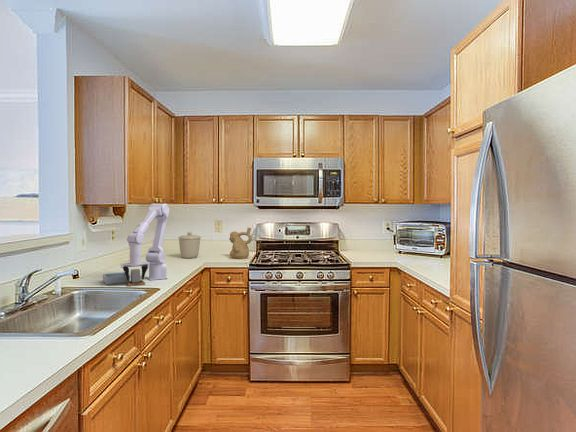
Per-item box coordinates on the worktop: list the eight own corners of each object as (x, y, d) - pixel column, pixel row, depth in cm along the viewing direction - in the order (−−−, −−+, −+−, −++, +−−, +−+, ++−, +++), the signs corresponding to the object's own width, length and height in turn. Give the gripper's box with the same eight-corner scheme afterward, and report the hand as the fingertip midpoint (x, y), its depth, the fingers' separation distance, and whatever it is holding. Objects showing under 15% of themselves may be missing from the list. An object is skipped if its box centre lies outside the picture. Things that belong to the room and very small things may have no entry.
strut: (138, 283, 209) (138, 268, 208) (140, 284, 205) (140, 270, 205) (130, 284, 207) (130, 269, 206) (132, 285, 203) (132, 270, 203)
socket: (141, 282, 212) (141, 279, 212) (145, 284, 205) (145, 282, 205) (125, 283, 207) (125, 281, 207) (128, 286, 200) (128, 284, 200)
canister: (196, 255, 318) (196, 230, 317) (204, 258, 303) (204, 232, 302) (175, 256, 308) (175, 231, 308) (181, 259, 293) (181, 232, 292)
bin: (125, 279, 219) (125, 272, 219) (129, 282, 209) (129, 275, 209) (102, 281, 213) (102, 274, 213) (105, 285, 203) (105, 277, 202)
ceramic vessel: (233, 256, 318) (233, 226, 317) (255, 257, 313) (255, 227, 312) (224, 258, 302) (224, 227, 301) (247, 260, 296) (247, 228, 295)
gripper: (122, 256, 198) (122, 282, 199) (150, 255, 206) (150, 279, 206) (120, 255, 204) (120, 280, 205) (148, 253, 212) (148, 277, 212)
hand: (135, 279), depth 206 cm, fingers open, 7 cm apart
